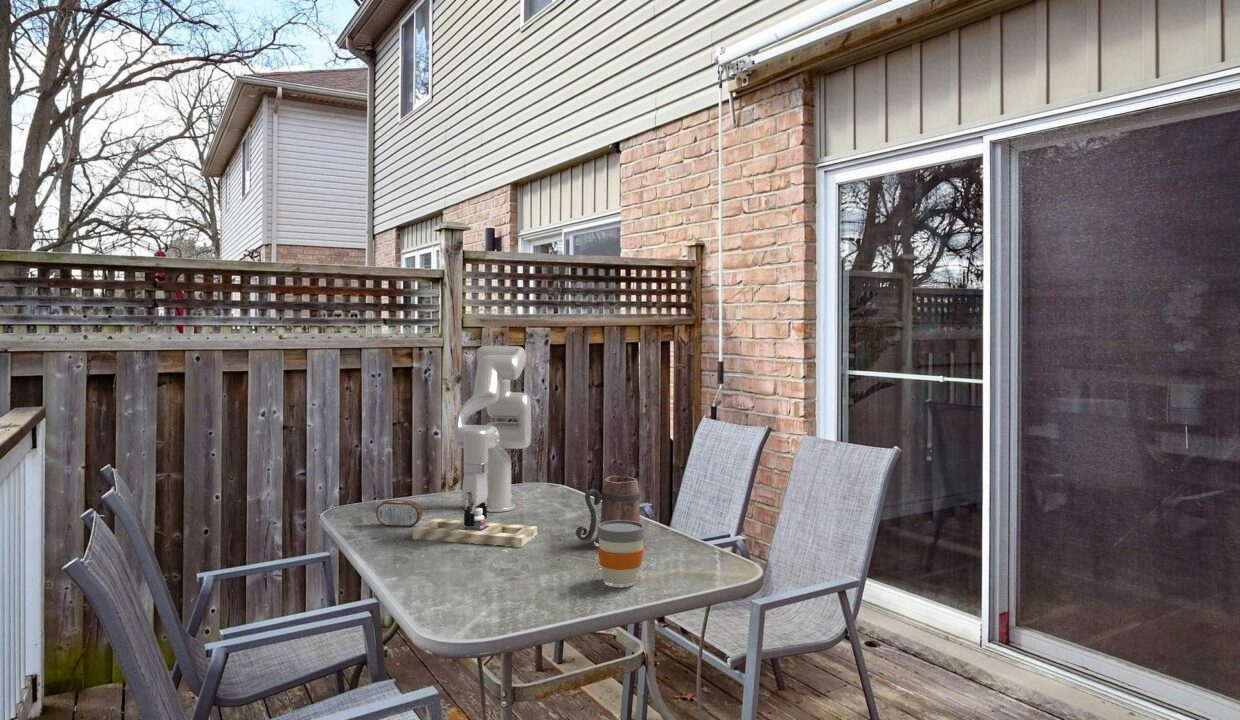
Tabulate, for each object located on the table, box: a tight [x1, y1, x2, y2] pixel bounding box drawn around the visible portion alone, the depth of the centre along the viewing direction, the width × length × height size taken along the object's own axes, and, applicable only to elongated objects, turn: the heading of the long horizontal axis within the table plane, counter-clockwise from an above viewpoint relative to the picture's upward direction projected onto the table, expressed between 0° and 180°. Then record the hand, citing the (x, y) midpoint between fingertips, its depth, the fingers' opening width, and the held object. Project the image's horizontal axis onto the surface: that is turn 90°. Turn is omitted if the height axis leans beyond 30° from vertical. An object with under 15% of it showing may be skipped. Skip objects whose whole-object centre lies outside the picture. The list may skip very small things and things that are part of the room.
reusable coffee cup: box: [596, 520, 646, 584], centre depth 206 cm, size 12×13×15 cm
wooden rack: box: [412, 517, 538, 547], centre depth 247 cm, size 36×14×3 cm, turn 77°
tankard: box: [575, 475, 645, 544], centre depth 241 cm, size 24×17×20 cm
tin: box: [375, 499, 423, 527], centre depth 260 cm, size 15×3×8 cm, turn 84°
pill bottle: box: [468, 507, 485, 531], centre depth 248 cm, size 5×5×9 cm
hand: (475, 522), depth 247 cm, fingers open, 9 cm apart
